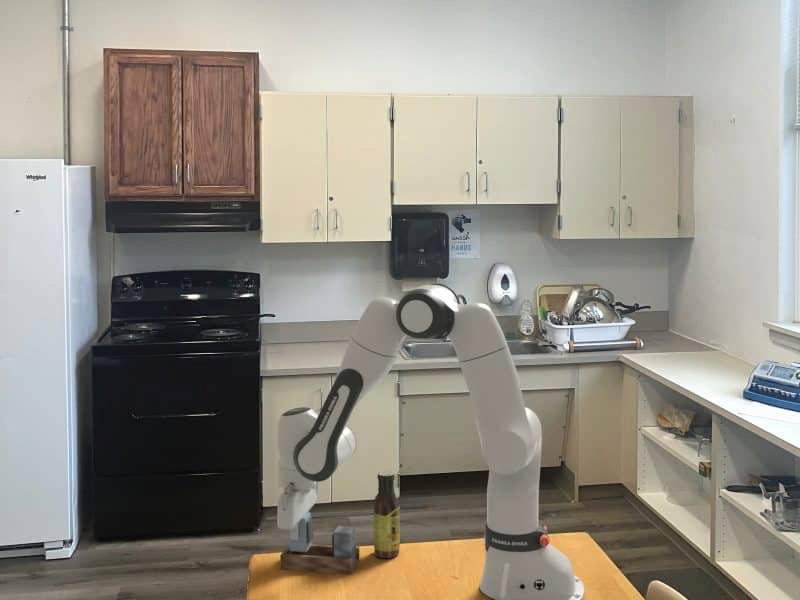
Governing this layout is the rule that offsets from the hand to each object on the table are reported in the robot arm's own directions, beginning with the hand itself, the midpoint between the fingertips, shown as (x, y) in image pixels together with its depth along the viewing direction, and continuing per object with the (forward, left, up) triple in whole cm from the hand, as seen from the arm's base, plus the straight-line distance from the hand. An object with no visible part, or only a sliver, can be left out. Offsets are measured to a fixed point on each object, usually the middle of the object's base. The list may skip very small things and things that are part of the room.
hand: (298, 534), depth 205 cm
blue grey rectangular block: (0, 0, -3) cm, 3 cm away
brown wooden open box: (-5, 0, -7) cm, 9 cm away
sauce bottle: (-19, -9, -7) cm, 22 cm away
